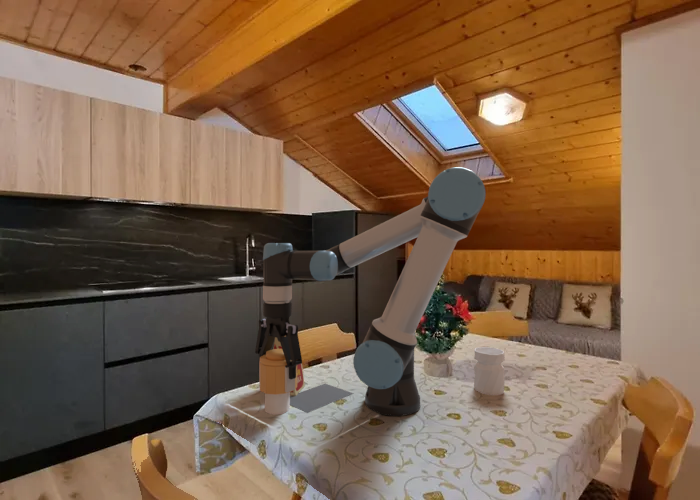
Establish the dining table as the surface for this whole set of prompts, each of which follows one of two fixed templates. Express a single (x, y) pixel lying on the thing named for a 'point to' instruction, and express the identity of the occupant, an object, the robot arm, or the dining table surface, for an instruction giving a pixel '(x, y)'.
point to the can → (277, 403)
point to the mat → (317, 397)
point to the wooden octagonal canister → (273, 372)
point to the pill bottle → (489, 371)
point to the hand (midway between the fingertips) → (277, 385)
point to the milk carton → (299, 372)
